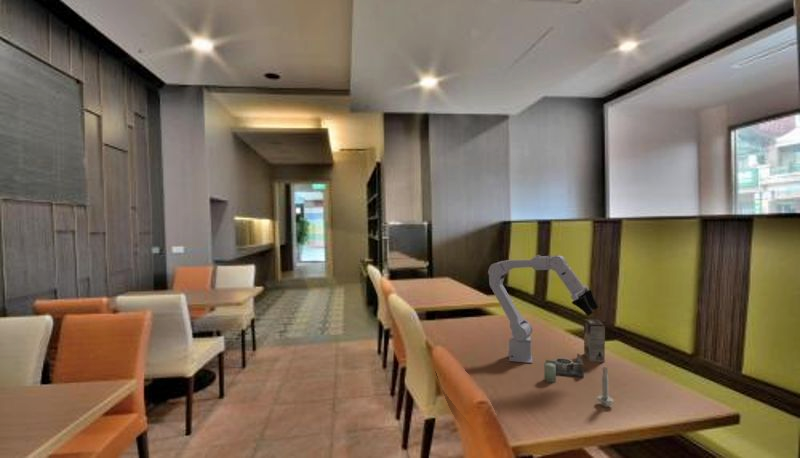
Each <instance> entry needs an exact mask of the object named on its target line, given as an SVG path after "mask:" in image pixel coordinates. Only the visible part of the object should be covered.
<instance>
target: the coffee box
mask: <svg viewBox="0 0 800 458" xmlns="http://www.w3.org/2000/svg"><path fill="white" fill-rule="evenodd" d="M605 345H606V325H605V324H604V323H603V322H602V321H601V320H600V319H598V318H597V319H596V318H594V319H593V318H584V319H583V352H584V356H586V358H587V360H588V361H589V362H597V363H598V362H601V363H605V362H606V361H605V360H606V358H605V356H606V353H605V351H606V346H605Z"/></svg>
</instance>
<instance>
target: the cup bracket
mask: <svg viewBox="0 0 800 458" xmlns="http://www.w3.org/2000/svg"><path fill="white" fill-rule="evenodd" d="M545 363H552V364H555V365H556V376H566V377H572V378H573V377H574V378H575V377H576V378H585V377H584V374H585V373H584V372H585V370H584V363H583V360H582V357H581V355H580V353H577V354H576V362H574V361H573V360H572V359H569V358H564V357H558V358H557V357H556V358H555V359H554V360H551V359H550V360H549V359H548V360H547V359H545Z"/></svg>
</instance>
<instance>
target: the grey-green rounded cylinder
mask: <svg viewBox="0 0 800 458" xmlns="http://www.w3.org/2000/svg"><path fill="white" fill-rule="evenodd" d="M543 366H544V369H543V371H544V372H543V373H544V376H543V377H544V381H545V382H547V383H550V384H551V383H552V384H553V383H556V382H557V378H556V377H557V375H556V365H555V364H552V363H546V362H545V363H544V364H543Z"/></svg>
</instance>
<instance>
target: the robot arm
mask: <svg viewBox="0 0 800 458" xmlns="http://www.w3.org/2000/svg"><path fill="white" fill-rule="evenodd" d="M519 268H521V269H522V268H532V269H533V270H534V271H550V270H552V271H554V272H555V273H556V274H557V276H558V278H559V279H560V280H561V282H562V283H563V284H564V285H565V287H566V289H567V290H568V291H569V293H570V294H571V296H570V298H571V300H572V301H571V304H572V305H574V306H575V307H577V308H579V309H580V310H581V311H583V313H585V314H586V315H587V316H590V315H592V314H593V313H594V311H593V310H596V309H598V308H599V305H598V304H597V301H596V298H595V297H594V291H593V289H592V288H591V289H589V286H588V285H584V284H583V283H582V282H581V280H580V279H579V277H578V276H577V275H576V273H575V272H574V271H573V269H572V268H571V267H570V266H569V264H568V263H567V259H566V257H564V256H563V255H558V254H556V255H554V256H553V255H552V254H549V255H544V256H541V254H537V255H536V256H533V257H532V258H531V259H506V260H500V261H498V262H494V263H492V264H491V265H490V266H489V268H488V271H487V274H488V281H489V282H488V283H489V288H490V289H491V290H492V292H493V293H494V296H495V299H497V301H498V303H499V305H500V306H501V308H502V310H503V311H504V313H505V315H506V317H507V319H508V320H509V327H510V330H511V335H512V338H511V337H510V338H509V337H508V357H509V358H508V359H509V361H510V362H517V363H526V364H533V356H532V338H531V335H532V333H533V327H532V324H531V323H529V322H528V321H527V320H526V318H525V317H524V316H522V315H521V314H520V312H519V310H518V309H517V307H516V305H515V304H514V302H513V300H512V298H511V296H510V295H509V293H508V292H507V291H508V290H507V289H506V288H505V286H504V285H503V283H504V281H505V277H507V274H509V272H510V270H511V271H512V270H513V269H519Z"/></svg>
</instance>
